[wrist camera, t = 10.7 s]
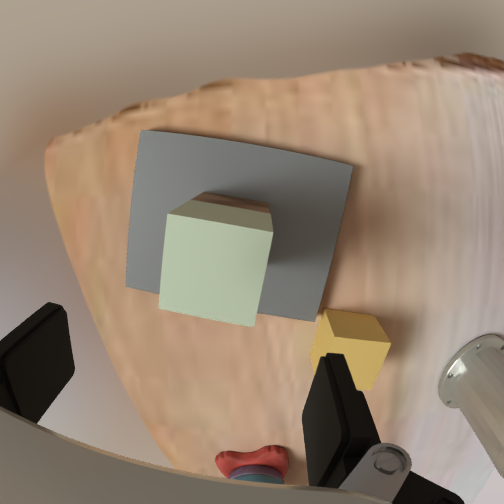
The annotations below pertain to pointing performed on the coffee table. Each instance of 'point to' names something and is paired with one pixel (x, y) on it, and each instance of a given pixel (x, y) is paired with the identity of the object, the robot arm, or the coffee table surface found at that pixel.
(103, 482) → the robot arm
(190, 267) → the sage-green block
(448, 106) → the coffee table surface
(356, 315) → the ochre block
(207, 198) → the walnut base block
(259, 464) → the stacking bear
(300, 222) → the slate base board
